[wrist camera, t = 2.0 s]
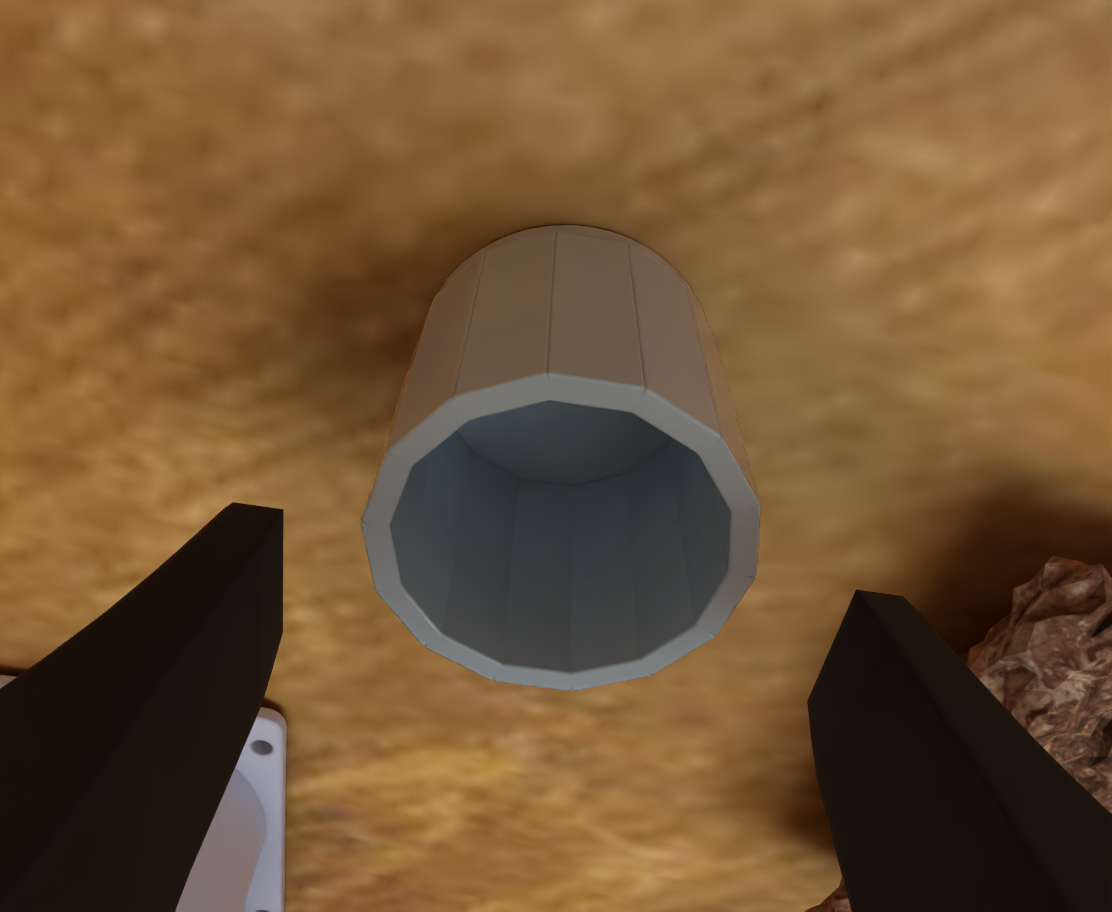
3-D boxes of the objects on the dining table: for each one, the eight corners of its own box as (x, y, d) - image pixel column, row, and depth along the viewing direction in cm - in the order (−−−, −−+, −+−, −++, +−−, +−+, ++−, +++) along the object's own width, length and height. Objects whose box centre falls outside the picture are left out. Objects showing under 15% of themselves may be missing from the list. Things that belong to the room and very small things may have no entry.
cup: (678, 502, 19) (708, 710, 15) (406, 463, 19) (351, 664, 14) (748, 251, 17) (814, 413, 12) (430, 199, 16) (371, 346, 12)
